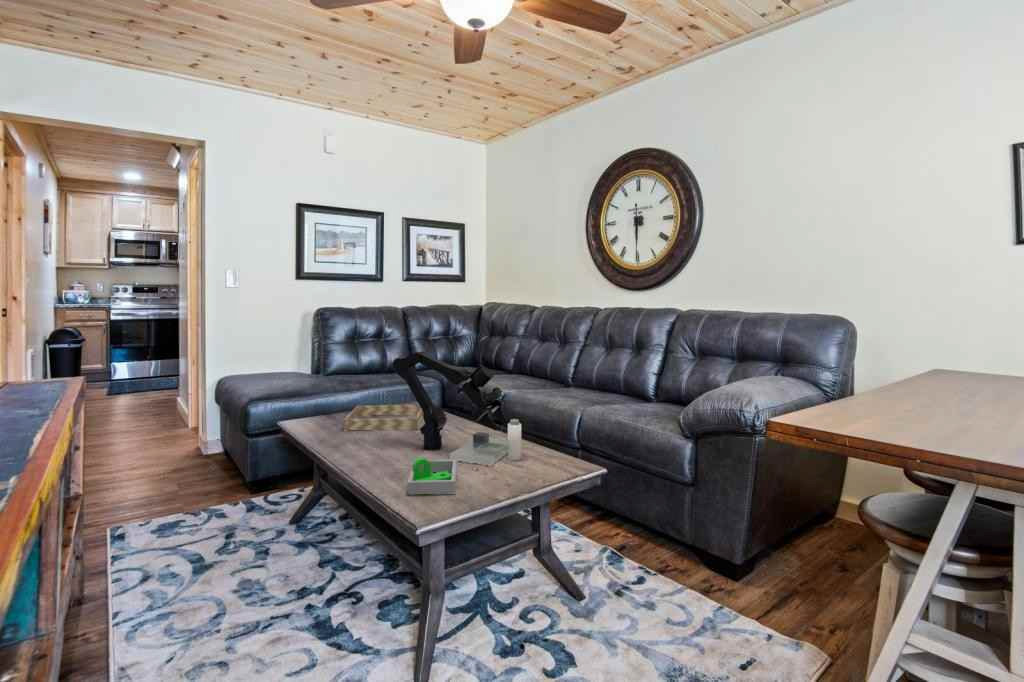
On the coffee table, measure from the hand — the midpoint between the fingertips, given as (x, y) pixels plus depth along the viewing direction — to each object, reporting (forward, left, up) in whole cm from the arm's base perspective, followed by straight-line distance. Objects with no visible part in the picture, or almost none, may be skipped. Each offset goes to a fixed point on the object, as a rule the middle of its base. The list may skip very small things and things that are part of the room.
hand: (502, 426), depth 197 cm
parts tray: (-24, -24, -11) cm, 36 cm away
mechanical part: (-24, -23, -12) cm, 36 cm away
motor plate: (-7, +4, -11) cm, 14 cm away
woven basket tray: (-51, +55, -11) cm, 76 cm away
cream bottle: (+4, -2, -11) cm, 13 cm away
